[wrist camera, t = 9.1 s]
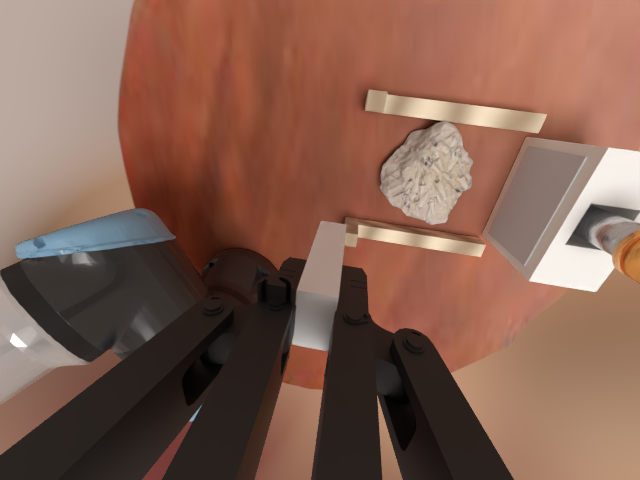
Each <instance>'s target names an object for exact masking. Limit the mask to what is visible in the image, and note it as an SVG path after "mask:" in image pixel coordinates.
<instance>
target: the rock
mask: <svg viewBox="0 0 640 480" xmlns="http://www.w3.org/2000/svg"><path fill="white" fill-rule="evenodd" d="M472 164H473V160H472V159H471V158H470V157H469V156H468V153H467V152H466V151H465V150H464V148H463V142H462V137H461V135H460V133H459V131H458V129H457V128H456V127H455V125H453V124H451V123H449V122H447V121H442V122H439V123H435V124H434V125H433V126H431V127H429V128H427V129H424V130H423V129H421V130H416V131H413V132H412V133H411V134H410V135H409V136H408V138H407V139H406V141H405V143H404V144H403V145H401V147H400V148H399V149H397V150H396V151H395V153H394V154H393V155H392V156H391V157H390V158H389V159H388V160H387V161H386V162H385V163H384V165H383V166H382V171H381V185H380V189H381V190H382V192H383V194H384V195H385V197H386V198H387V199H388V200H389V201H390V203H391V204H392V205H393V206H396V207H397V208H401V209H402V210H403V212H404V213H405V214H406V215H407V216H411V217H414V218H418V219H420V220H425V221H426V222H427V223H429V224H431V225H433V224H439V223H445V222H446V221H447V219H448V214H449V213H450V210H451V209H453V208H452V207H453V206H454V205H455V204H456V202H457V199H458V198H459V197H460V196H461V195H462V191H466V190H467V189H470V186H472V179H471V178H472V177H471V176H470V175H469V171H470V168H471V166H472Z"/></svg>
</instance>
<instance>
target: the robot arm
mask: <svg viewBox="0 0 640 480" xmlns="http://www.w3.org/2000/svg"><path fill="white" fill-rule="evenodd" d="M346 226H347V225H346V224H340V223H333V222H327V221H321V222H320V225H319V228H318V231H317V233H316V236H315V239H314V242H313V245H312V248H311V251H310V253H309V256H308V259H307V260H303V259H297V258H291V257H290V258H288V259H287V260H285V261H284V262H283V263H282V265H281V267H280V270H279V271H277V269H276V268H275V267H274V266H273V265H272V263H270V262H269V261H268V260H267V259H266V258H264V257H263V256H261V255H259V254H257V253H255V252H253V251H250V250H246V249H239V248H233V249H227V250H223V251H221V252H219V253H217V254H216V255H215V256H214V257H213V258H212V259H211V260H210V261H209V262H208V263H207V264H206V265H205V267H204V268H203V270H202V273H201V276H200V275H199V273H198V272H197V270H196V269H195V267H194V266H193V264H192V263H191V261H190V260H189V259H188V257H187V256H186V254H185V253H184V251H183V250H182V248H181V247H180V245H179V244H178V242H177V241H176V236H175V235H173V234H171V232H170V231H169V230H168V228H167V227H166V226H165V224H164V223H163V222H162V221H161V219H160V218H159V217H158V216H157V215H156V214H155V213H154V212H153V211H151V210H148V209H144V208H135V209H130V210H126V211H122V212H118V213H115V214H111V215H108V216H104V217H101V218H97V219H93V220H90V221H86V222H83V223H80V224H76V225H73V226H70V227H67V228H63V229H60V230H57V231H54V232H51V233H48V234H46V235H42V236H39V237H37V238H34V239H29V240H26V241H24V242H21V243H18V244H17V245H16V246H15V250H16V256H17V257H18V258H19V259H20V258H21V259H23V260H22V261H20V262H18V263H16V264H13V265H11V266H9V267H6V268H4V269H2V270H0V405H1V404H2V403H4V402H5V401H7V400H8V399H10V398H11V397H13V396H14V395H16V394H17V393H18V392H20V391H22V390H23V389H24V388H26V387H28V386H29V385H31V384H32V383H34V382H35V381H37V380H38V379H39V378H41V377H42V376H44V375H45V374H47V373H48V372H50V371H51V370H53V369H54V368H56V367H60V366H68V365H87V364H88V363H90V362H92V361H94V360H95V359H96V358H98V357H99V356H101V355H102V354H103V353H105V352H106V351H108V350H110V349H111V350H112V351H114V352H115V354H116V355H117V356H118V357H119V358H120V359H121V360H122V361H121V362H120V363H119V364H117V365H116V366H115V367H113V368H112V369H111V370H110V371H108V372H107V373H106V374H104V375H103V376H102V377H101V378H99V379H98V380H97V381H95V382H94V383H93V384H92V385H91V386H89V387H88V388H86V389H85V390H84V391H83V392H81V393H80V394H79V395H77V396H76V397H75V398H74V399H72V400H71V401H70V402H68V403H67V404H66V405H65V406H63V407H62V408H61V409H59V410H58V411H57V412H56V413H54V414H53V415H52V416H50V418H48V419H47V420H45V421H44V422H43V423H42V424H40V425H39V426H38V427H36V428H35V429H34V430H32V431H31V432H30V433H29V434H27V435H26V436H25V437H23V438H22V439H21V440H20V441H18V442H17V443H16V444H14V445H13V446H12V447H11V448H9V449H8V450H7V451H5V452H4V453H3V454H2V455H0V480H142V479H143V477H144V476H145V475H146V474H147V472H148V471H149V470H150V469H151V468H152V466H153V465H154V464H155V462H156V461H157V460H158V459H159V458H160V456H161V455H162V454H163V452H164V451H165V450H166V449H167V448H168V446H169V445H170V444H171V443H172V441H173V440H174V439H175V438H176V436H177V435H178V434H179V433H180V431H181V430H182V429H183V427H184V426H185V425H186V424H187V423H188V421H193V422H192V424H191V426H190V428H189V430H188V432H187V434H186V436H185V437H184V439H183V441H182V443H181V445H180V447H179V449H178V450H177V453H176V454H175V456H174V458H173V460H172V462H171V464H170V465H169V467H168V469H167V471H166V473H165V475H164V477H163V479H162V480H254V479H255V476H256V472H257V469H258V465H259V461H260V458H261V455H262V451H263V447H264V444H265V440H266V437H267V433H268V430H269V426H270V423H271V419H272V416H273V412H274V408H275V405H276V401H277V398H278V394H279V390H280V387H281V384H282V380H283V377H284V373H285V370H286V366H287V362H288V359H289V353H290V345H291V342H292V344H293V345H298V346H303V347H308V348H314V349H319V350H324V351H328V358H327V363H326V369H325V374H324V377H325V378H324V386H323V393H322V401H321V409H320V416H319V425H318V432H317V439H316V447H315V454H314V462H313V469H312V477H311V480H382V468H381V452H380V436H379V421H378V420H379V419H378V404H377V395H378V398H379V402H380V405H381V408H382V412H383V415H384V418H385V421H386V425H387V428H388V432H389V435H390V438H391V442H392V445H393V448H394V451H395V455H396V458H397V462H398V465H399V468H400V472H401V475H402V478H403V480H514V479H513V477H512V476H511V474H510V472H509V471H508V469H507V467H506V466H505V464H504V462H503V461H502V459H501V457H500V455H499V454H498V452H497V450H496V449H495V447H494V446H493V444H492V442H491V440H490V439H489V437H488V436H487V434H486V432H485V430H484V429H483V427H482V425H481V424H480V422H479V420H478V419H477V417H476V415H475V414H474V412H473V410H472V408H471V407H470V405H469V403H468V402H467V400H466V398H465V397H464V395H463V393H462V392H461V390H460V388H459V387H458V385H457V383H456V382H455V380H454V378H453V377H452V375H451V373H450V371H449V370H448V368H447V366H446V365H445V363H444V361H443V360H442V358H441V356H440V355H439V353H438V351H437V350H436V348H435V346H434V345H433V343H432V342H431V341H430V339H429V338H428V337H426V336H425V335H424V334H422V333H421V332H419V331H416V330H414V329H408V328H404V329H399V330H398V331H397V332H395V334H394V333H392V332H389V331H387V330H385V329H383V328H381V327H379V326H378V325H377V324H375V323H374V322H373V320H372V318H371V315H370V314H369V312H368V292H367V275H366V274H365V272H364V271H363V269H362V268H356V267H350V266H344V265H342V263H343V254H344V244H345V235H346Z"/></svg>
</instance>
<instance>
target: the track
mask: <svg viewBox="0 0 640 480" xmlns="http://www.w3.org/2000/svg"><path fill="white" fill-rule="evenodd" d="M387 93H388V92H385V91H377V90H368V92H367V97H366V102H365V108H364V111H369V112H377V113H384V114H392V115H400V116H407V117H415V118H423V119H430V120H438V121H447V122H453V123H461V124H469V125H476V126H484V127H492V128H499V129H507V130H515V131H522V132H531V133H539V131H540V129H541V127H542V125H543V122H544V120H545V118H546V116H547V114H540V113H532V112H524V111H516V110H508V109H500V108H492V107H484V106H476V105H468V104H460V103H452V102H444V101H436V100H428V99H420V98H412V97H404V96H396V95H388V94H387ZM344 224H346V225H347V226H346V235H345V244H344V246H350V247H356V243H357V239H358V237H360V238H367V239H373V240H379V241H385V242H391V243H397V244H404V245H410V246H416V247H422V248H428V249H434V250H441V251H447V252H453V253H459V254H465V255H471V256H478V257H481V255H482V253H483V250H484V248H485V246H486V245H485V244H484V243H483V242H482V241H481V239H480V238H478V237H472V236H465V235H459V234H453V233H446V232H440V231H433V230H427V229H421V228H414V227H408V226H402V225H395V224H389V223H383V222H376V221H370V220H364V219H357V218H351V217H345V223H344Z"/></svg>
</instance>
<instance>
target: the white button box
mask: <svg viewBox="0 0 640 480" xmlns="http://www.w3.org/2000/svg"><path fill="white" fill-rule="evenodd" d="M590 205H594V206H596V207H599V208H601V209H604V210H607V211H609V212H612V213H614V214H617V215H619V216H622V217H625V218H627V219H630V220H632V221H635V222H637V223H640V152H639V151H632V150H625V149H617V148H610V147H602V146H595V145H587V144H580V143H572V142H564V141H557V140H549V139H542V138H534V137H526V138H525V140H524V142H523V144H522V147H521V149H520V151H519V153H518V155H517V158H516V160H515V162H514V164H513V167H512V169H511V171H510V173H509V175H508V178H507V180H506V182H505V184H504V187H503V189H502V191H501V193H500V195H499V198H498V200H497V202H496V204H495V207H494V209H493V211H492V213H491V215H490V218H489V220H488V222H487V224H486V226H485V229H484V231H483V233H482V236H483V237H484V238H485V239H486V240H487V241H488V242H489V243H490V244H491V245H492V246H493V247H495V248H496V249H497V250H498V251H499V252H500V253H501V254H502V255H503V256H504V257H505V258H506V259H507V260H508V261H509V262H510V263H511V264H512V265H513V266H514V267H515V268H516V269H517V270H518V271H519V272H520V273H521V274H522V275H523V276H524V277H525V278H526V279H527V280H528V281H532V282H538V283H544V284H550V285H556V286H562V287H568V288H575V289H580V290H586V291H592V292H596V291H597V290H598V289H599V287H600V286H601V285H602V283H603V282H604V281H605V279H606V278H607V277H608V275H609V274H610V273H611V272H612V270H613V269H614V268H615V267H614V265H613V263H612V255H610V254H608V253H607V252H605V251H603V250H601V249H599V248H598V247H596V246H594V245H592V244H590V243H589V242H587V241H585V240H583V239H582V238H580V237H578V236H576V235H574V234H573V231H574V230H575V228H576V227H577V225H578V223H579V222H580V220H581V219H582V217H583V216H584V214H585V212H586V211H587V209H588V208H589V206H590Z"/></svg>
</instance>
